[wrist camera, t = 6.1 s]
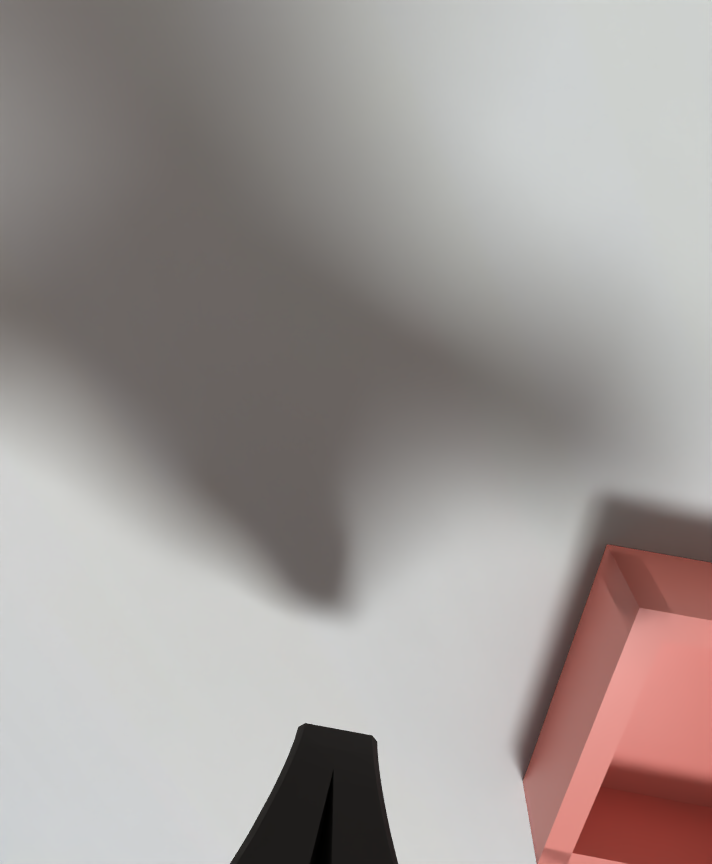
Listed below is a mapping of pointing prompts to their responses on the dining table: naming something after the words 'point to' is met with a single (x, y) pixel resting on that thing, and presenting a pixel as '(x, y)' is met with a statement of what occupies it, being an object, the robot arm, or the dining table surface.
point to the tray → (630, 722)
